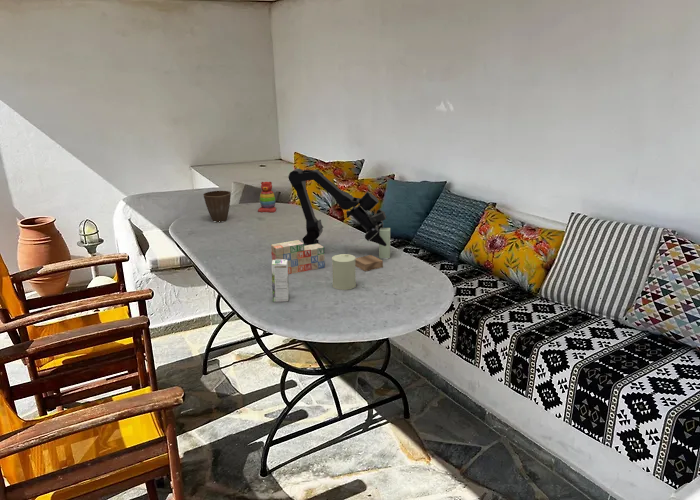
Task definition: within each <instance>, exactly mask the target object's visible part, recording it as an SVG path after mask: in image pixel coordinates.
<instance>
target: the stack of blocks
mask: <svg viewBox="0 0 700 500" xmlns="http://www.w3.org/2000/svg"><path fill="white" fill-rule="evenodd" d="M270 248H271V252H270V253H271V261H272V260H277V259H284V260H288V275H290V274H297V273H301V272H302V273H303V272H307V271H312V270H318V269H324V268H326V266H325V263H326V261H325V246H323V245H321V244H312V245H306V246H304V242H303V241H300V240H299V239H295V240H291V241H285V242H278V243H273V244H271V247H270Z"/></svg>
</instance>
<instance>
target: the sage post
mask: <svg viewBox="0 0 700 500" xmlns="http://www.w3.org/2000/svg"><path fill="white" fill-rule="evenodd" d="M380 236H381V237H382V238H383V240H384V241H385V243H386V244H387V245H386V246H383V245H380V244H378V259H382V258H389V259H390V257H391V227H383V228H380Z"/></svg>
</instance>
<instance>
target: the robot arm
mask: <svg viewBox="0 0 700 500" xmlns="http://www.w3.org/2000/svg"><path fill="white" fill-rule="evenodd" d="M287 178H288V181H289V182H290V185H291V186H292V188H293V189H294V190H295V191H296V194H297V197H298V200H299V203H300V206H301V209H302V212H303V216H304V219H305V223H306V224H305V226H306V227H305V229H306V234H305V235H304V236H303V238H302V243H304V246H306V245H312V244H320V241H319V237H320V236H322V233H323V231H324V230H323V228H324V226H323V224H322V219H317V217H316V216H315V213H314V212H315V211H314V208H313V205H312V202H311V200H310V197H309V196H310V195H309V194H308V190H307V188H306V187H307V186H306V185H307V181H314V182H315V183H316V184H318V185H319V186H320V187H321V188H322V189H324V190H325V191H326V193H328V194H329V195H331V196H332V198H334V200H335V202H336V204H337V205H338V206H339V207H340V208H341V209H342V210H344V211H346V218H349V217H352V218H353V219H354V220H355V221H356V222H357V223H358V226H359V227H362V228H363V229H364V230H365V234H364V238H365V240H366V241H367V242H372V243H375V244H377V245H379V244H380V245H383V246H386V245H387V244H386V243H385V241H384V240H383V238H382V237H381V236H380V228H384V221H385V220H386V219H387V215H386V212H385V211H384V210H382V209H378V210H376V213H374V214H371V213H368V211H369V212H370V211H371V210H372V209H373V208H375V206H376V205H378V203H380V202H379V199H378V198H377V196H375V195H374V194H373V193H371V192H370V191H366V193H364V195H363V196H362V197H361V198H359V197H354V196H353V195H351V194H350V193H348V192H347V191H344V190H342V189H340V188H339V187H337V186H336V185H335V184H334V183H333V182H332V181H331V180H329V179H328V177H326V176H325V175H324V174H323V173H321V172H320V170H318V169H301V168H295V169H294V170H291V171H290V172H289V174H288V177H287ZM320 245H321V244H320Z"/></svg>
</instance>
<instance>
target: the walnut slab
mask: <svg viewBox="0 0 700 500" xmlns="http://www.w3.org/2000/svg"><path fill="white" fill-rule="evenodd" d="M383 266H384V261H383V260H382V258H379V257H376V256H374V255H372V254H369V255H365V256H364V255H363V256H360V257H356V259H355V268H358V269H360V270H362V271H364V272H368V271H373V270H377V269H381V268H383Z"/></svg>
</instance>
